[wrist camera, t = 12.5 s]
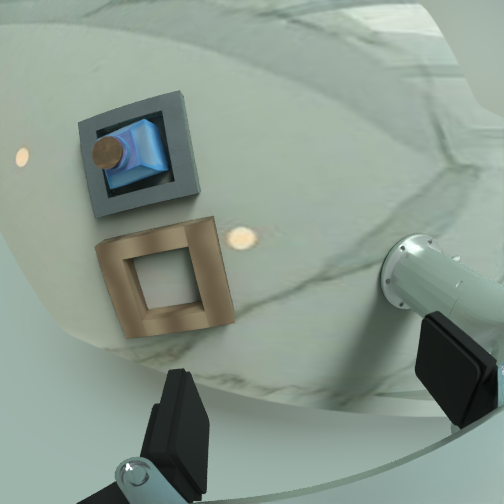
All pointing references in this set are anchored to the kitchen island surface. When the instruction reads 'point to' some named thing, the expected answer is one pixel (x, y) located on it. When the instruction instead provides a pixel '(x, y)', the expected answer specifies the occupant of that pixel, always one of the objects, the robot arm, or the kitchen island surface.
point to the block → (177, 144)
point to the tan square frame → (178, 316)
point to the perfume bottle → (130, 154)
